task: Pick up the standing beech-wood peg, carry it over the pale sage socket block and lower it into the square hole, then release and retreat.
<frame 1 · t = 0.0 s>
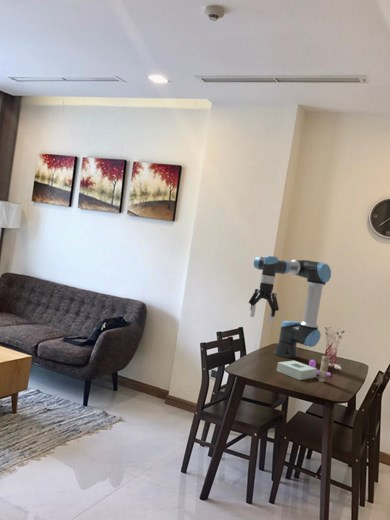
hand: (261, 319, 275), 28 cm above the table, fingers open, 13 cm apart
peg: (321, 381, 268), on the table
socket block: (296, 374, 275), on the table
bracket: (319, 374, 285), on the table
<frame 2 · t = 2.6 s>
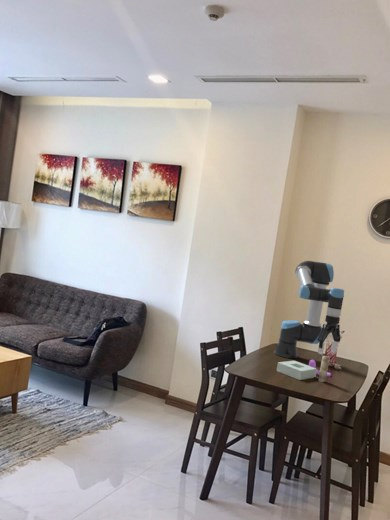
hand: (326, 353, 267), 16 cm above the table, fingers open, 13 cm apart
nothing on the table moved.
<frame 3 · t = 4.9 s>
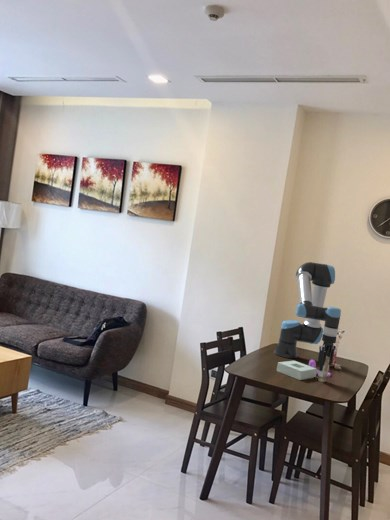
hand: (322, 375, 268), 3 cm above the table, fingers closed on peg, 4 cm apart
peg: (321, 381, 268), on the table, touching gripper
everything else where it was.
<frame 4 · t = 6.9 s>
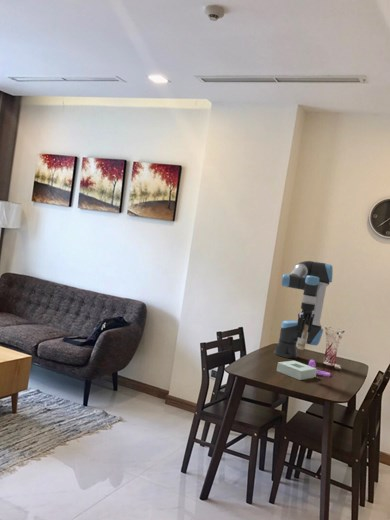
hand: (301, 343, 274), 18 cm above the table, fingers closed on peg, 4 cm apart
peg: (300, 348, 274), point 15 cm above the table, touching gripper
everything else where it was.
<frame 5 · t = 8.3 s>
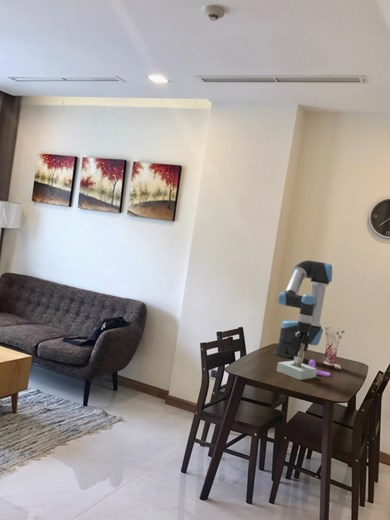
hand: (298, 361, 275), 7 cm above the table, fingers closed on peg, 4 cm apart
peg: (297, 367, 275), point 4 cm above the table, touching gripper
everything else where it was.
when the fingers open (6 cm above the table, at t = 9.1 s): peg drops 2 cm, resting in socket block.
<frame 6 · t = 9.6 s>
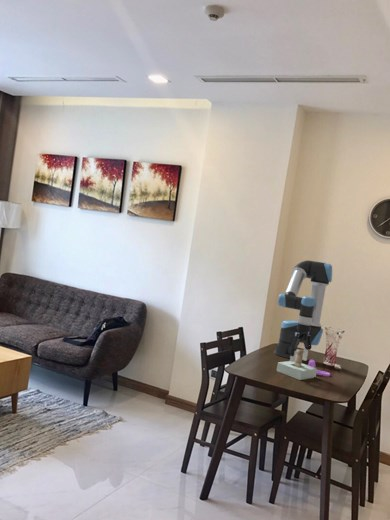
hand: (298, 361, 275), 8 cm above the table, fingers open, 11 cm apart
peg: (296, 374, 275), resting in socket block
everything else where it was.
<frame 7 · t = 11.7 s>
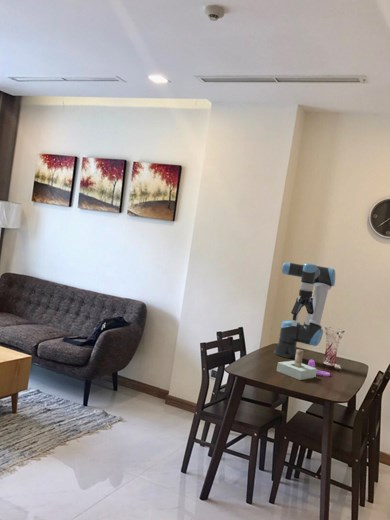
hand: (300, 325, 284), 27 cm above the table, fingers open, 13 cm apart
nothing on the table moved.
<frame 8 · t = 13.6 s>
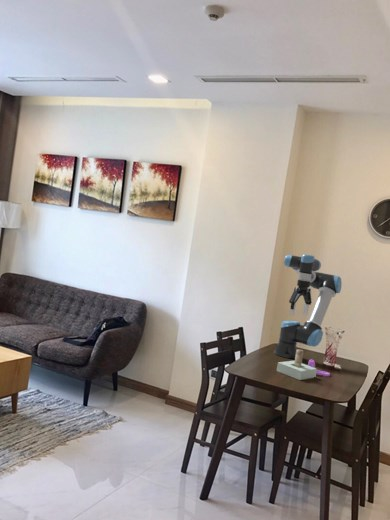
hand: (298, 314, 291), 32 cm above the table, fingers open, 13 cm apart
nothing on the table moved.
at the end: peg 0.1 cm off-centre on the socket block, point 0.0 cm above the socket block's base; peg tilted 0°; the gripper is holding nothing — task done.
